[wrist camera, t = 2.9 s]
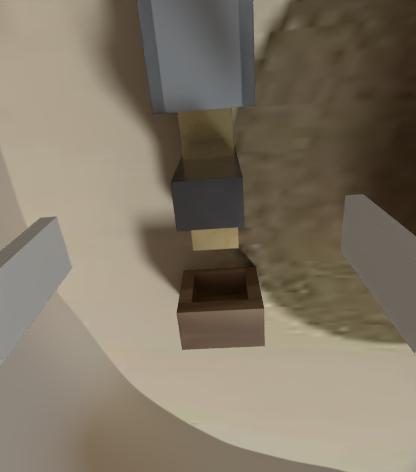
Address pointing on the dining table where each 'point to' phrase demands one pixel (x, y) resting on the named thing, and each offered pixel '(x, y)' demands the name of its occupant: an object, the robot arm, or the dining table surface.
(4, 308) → the robot arm
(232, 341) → the socket block
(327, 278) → the dining table surface
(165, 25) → the outer sleeve
